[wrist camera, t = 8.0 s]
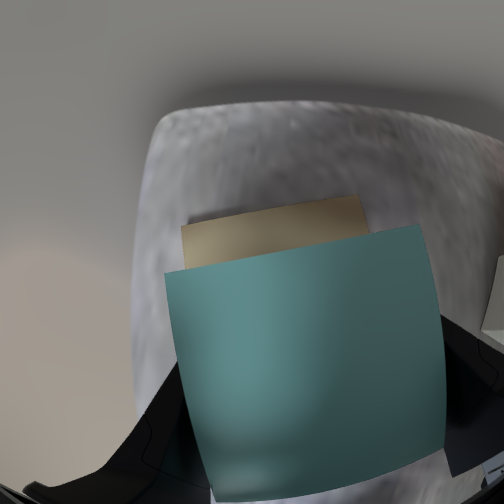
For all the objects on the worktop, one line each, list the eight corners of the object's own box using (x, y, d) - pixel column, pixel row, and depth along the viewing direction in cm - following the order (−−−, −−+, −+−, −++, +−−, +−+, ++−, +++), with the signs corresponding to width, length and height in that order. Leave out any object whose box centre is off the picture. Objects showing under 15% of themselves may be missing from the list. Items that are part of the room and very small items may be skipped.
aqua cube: (379, 398, 11) (443, 447, 5) (242, 427, 12) (216, 502, 5) (358, 264, 13) (419, 223, 7) (216, 292, 13) (164, 273, 7)
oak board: (389, 370, 16) (394, 372, 15) (211, 404, 17) (208, 408, 16) (354, 199, 19) (357, 194, 18) (185, 230, 20) (180, 226, 19)
